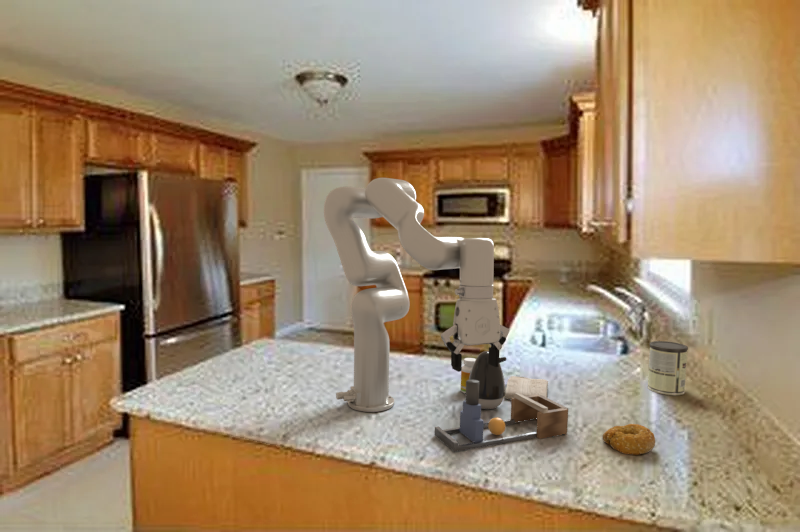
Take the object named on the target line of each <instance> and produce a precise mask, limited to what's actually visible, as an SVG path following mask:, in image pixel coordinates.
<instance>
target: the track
mask: <svg viewBox="0 0 800 532" xmlns="http://www.w3.org/2000/svg"><path fill="white" fill-rule="evenodd" d="M502 420H503V419H502ZM503 421H504V423H505V426H510V425H515V424H516V423H515V420H514V419H511V418H508V419H504V420H503ZM514 423H515V424H514ZM488 424H489V422H484V424H483V430H485V429H489V428H488ZM509 424H510V425H509ZM459 433H460V434H462V433H461V432H460V426H459V427H452V428H446V429H442V427H440V426H434V437H436V438H437V439H438V440H439V441H440V442H442V443H443V444H444V445H445V446H446V447H447V448H449V449H450V450H451V451H452V452H453V453H457V452H463V451H469V450H474V449H480V448H486V447H490V446H496V445H497V446H498V445H502V444H508V443H513V442H519V441H525V440H530V439H531V440H532V439H535V437H536V438H537V431H532V432H526V433H521V434H515V435H509V436H505V437H498V438H492V439H486V440H483V441H480V442H469V443H463V444H459V442H458V440H456V439H454V438H453V437H452V436H451V435H453V434H454V435H455V434H459Z"/></svg>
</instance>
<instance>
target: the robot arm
mask: <svg viewBox="0 0 800 532" xmlns="http://www.w3.org/2000/svg"><path fill="white" fill-rule="evenodd" d="M324 200H325V201H324V204H323V217H324V221H325V224H326V227H327V229H328V232H329V234H330V235H331V237H332V240H333V241H334V244H335V246H336V249H337V250H336V251H337V253H338V257H339V259H340V260H339V261H340V263H341V266H342V269H343V272H344V275H345V277H346V280H347V281H348V283H349V284H351V286H355V287H365V286H367V287H368V286H376V287H373V288H372V287H371V288H365V289H363V290H360V291H358V292H357V293H356V294H355V295H354V296H353V297H352V300H351V301H350V313H351V319H352V324H353V349H354V351H353V355H354V356H353V385H351V386H350V387H349V388H350V389H347V391H337V392H335V398H336V400H339V401H340V400H343V402H347V406H348V407H349V408H351V409H352V410H355V411H359V412H367V413H373V412H374V413H375V412H384V411H386V410H389V409H391V408H392V407H394V405H395V399H394V397H392V396H391V395H390V394H389V391H390V389H389V387H390V386H389V385H390V336H389V333H388V330H387V328H386V326H385V323H386V322H387V323H388V322H392V321H396V320H401V319H402V318H404V317H406V315H407V314H408V313H409V310H410V307H411V306H410V304H411V303H410V298H409V292H408V290H407V287H406V284H405V282H404V278H403V275H402V273H401V270H400V268H399V265H398V262H397V261H396V259H395V257H393V256H392V254H390V253H389V252H387V251H384V250H372V249H371V248H370V246H369V243H368V241H367V238H366V236H365V234H364V232H363V230H362V229H361V227H360V226H359V225H358V224H357V223H356V222H355V221H354V219H380V218H384V220H386V221H387V222H388V223H389V224H390V225H391V226H392V227H394V229H395V230H397V236H398V240H399V243H400V245H401V247H402V249H403V250H404V251H405V252H406V253H407V254H408V255H409V256H410V257H411V258H412V259H413V260H414V261H415V262H416V263H418V264H419V265H420V266H421V267H423V268H425V269H427V270H431V271H440V270H453V269H454V270H455V269H459V285H458V288H455V289H454V294H455V295H456V296H458V297H459V298H457V299H456V302H455V308H454V314H453V323H452V326H451V327H449V328H448V329H446V330H445V331H444V332H442V333H441V334H440V337H441V340H442V342H443V345H444V346H445V347H446V349H448V350H449V352H451V353H450V360H451V361H450V365H451V369H452V370H454V371H456V372H458V373H461V370H462V366H463V365H462V364H463V363H462V362H463V360H462V359H463V358H462V357H463V356H462V353H460V352H461V351H462V349H463V348H464V347H465V346H480V345H489V346H490V347H489V348H488V351H489V364H490V365H492V366H494V367H498V366H499V358H500V350H502V348H503V345H504V343H506V342H507V337H508V335H509V333H510V329H509V328H508V327H506V326H504V325H502V324H501V321H500V320H501V319H500V310H499V305H498V301H497V298H494V275H495V273H494V272H495V271H494V266H495V265H494V264H495V263H494V262H495V259H494V258H495V244H494V241H493V240H492V239H490V238H487V237H468V238H467V237H466V238H465V237H460V236H435V235H433V234H431V232H429V231H428V230H427V229H425V228H424V227H423V226H422V225H421V223H422V222H423V219H424V216H425V209H424V207H423V206H422V205H421V204H420V203H419V202H418V201H416V200H417V193H416V190H415V188H414V186H413V185H412V184H411V183H410V182H409V181H407V180H403V179H398V178H391V177H390V178H389V177H378V178H374V179H372V180H371V181H369V182H368V184H367V185H366V187H359V186H339V187H336V188H333V189H332V190H330V191H329V192H328V193H327V196H326V198H325V199H324ZM451 337H452V339H453V342H452V341H451V339H450V338H451Z"/></svg>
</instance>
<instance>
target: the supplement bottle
mask: <svg viewBox="0 0 800 532" xmlns="http://www.w3.org/2000/svg"><path fill="white" fill-rule="evenodd" d="M475 360H476V358H474V357H465V358H463V365H462V370H461V372H460V392H461V393H463V394H465V393H466V381H467V380H469V376H470V373H471V370H472V367H473V364H474V362H475Z"/></svg>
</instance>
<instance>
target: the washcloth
mask: <svg viewBox="0 0 800 532" xmlns="http://www.w3.org/2000/svg"><path fill="white" fill-rule="evenodd" d="M548 386H549V381H548V380H547V379H544V378H543V379H542V378H530V377H527V376H526V377H525V376H517V375H516V376H513V375H511V376H510V377H509V378H507V382H506V386H505V396H504V399H506V400H509V399H511V398H514V393H520V394H522V395H524V396H529V395H537V394H538V395H542V396H544V397H546V398H548Z"/></svg>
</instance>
